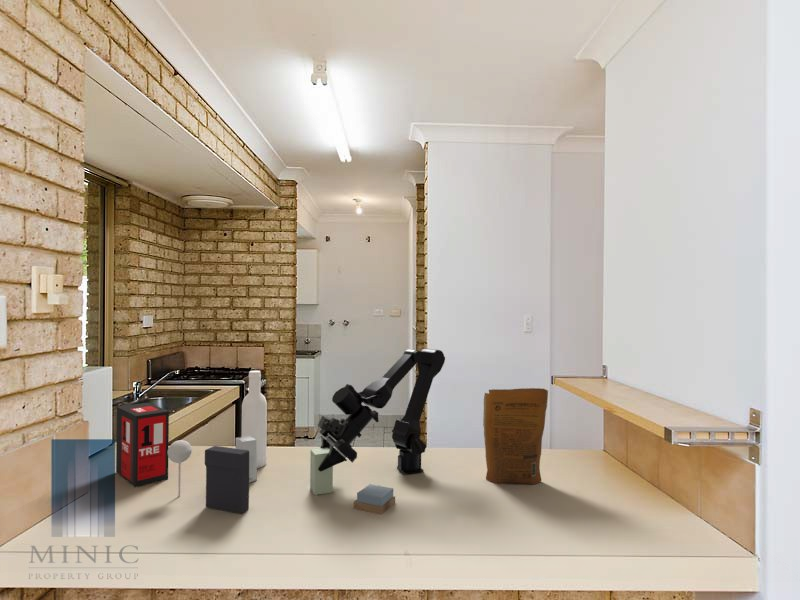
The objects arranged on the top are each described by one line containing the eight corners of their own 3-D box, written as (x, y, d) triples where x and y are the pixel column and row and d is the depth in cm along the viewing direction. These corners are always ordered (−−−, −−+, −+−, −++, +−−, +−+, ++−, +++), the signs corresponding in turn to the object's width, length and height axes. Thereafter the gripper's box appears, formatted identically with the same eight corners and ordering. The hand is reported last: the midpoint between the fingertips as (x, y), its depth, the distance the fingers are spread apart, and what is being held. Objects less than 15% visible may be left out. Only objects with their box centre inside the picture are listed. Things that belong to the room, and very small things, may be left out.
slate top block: (369, 492, 132) (369, 484, 132) (393, 496, 129) (393, 488, 129) (357, 501, 126) (357, 493, 126) (381, 506, 123) (381, 497, 123)
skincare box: (257, 480, 144) (258, 439, 144) (242, 484, 141) (243, 441, 141) (249, 474, 149) (249, 434, 149) (234, 478, 146) (235, 437, 146)
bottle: (271, 462, 160) (272, 370, 160) (258, 470, 153) (259, 373, 153) (249, 459, 162) (250, 369, 162) (235, 467, 155) (236, 372, 155)
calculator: (250, 508, 125) (251, 449, 125) (240, 515, 121) (240, 454, 121) (215, 502, 128) (216, 444, 128) (203, 508, 124) (204, 449, 124)
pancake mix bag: (549, 487, 141) (551, 390, 141) (483, 485, 142) (484, 388, 142) (544, 479, 148) (545, 386, 148) (480, 476, 149) (481, 384, 149)
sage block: (327, 485, 140) (327, 447, 140) (332, 492, 136) (333, 452, 136) (310, 488, 138) (310, 449, 138) (314, 495, 134) (315, 454, 134)
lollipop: (196, 494, 133) (197, 439, 133) (178, 502, 128) (179, 444, 128) (180, 490, 136) (180, 436, 136) (161, 498, 130) (162, 441, 130)
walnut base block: (368, 499, 133) (368, 491, 133) (395, 504, 130) (395, 496, 130) (353, 510, 126) (353, 501, 126) (381, 516, 122) (381, 507, 122)
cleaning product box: (116, 472, 149) (116, 406, 149) (147, 465, 156) (147, 402, 156) (135, 487, 138) (136, 416, 138) (168, 479, 144) (168, 411, 144)
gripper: (326, 399, 147) (289, 440, 142) (346, 412, 130) (304, 459, 126) (351, 423, 150) (315, 463, 146) (373, 439, 133) (334, 485, 129)
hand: (316, 467), depth 136 cm, fingers closed on sage block, 5 cm apart
